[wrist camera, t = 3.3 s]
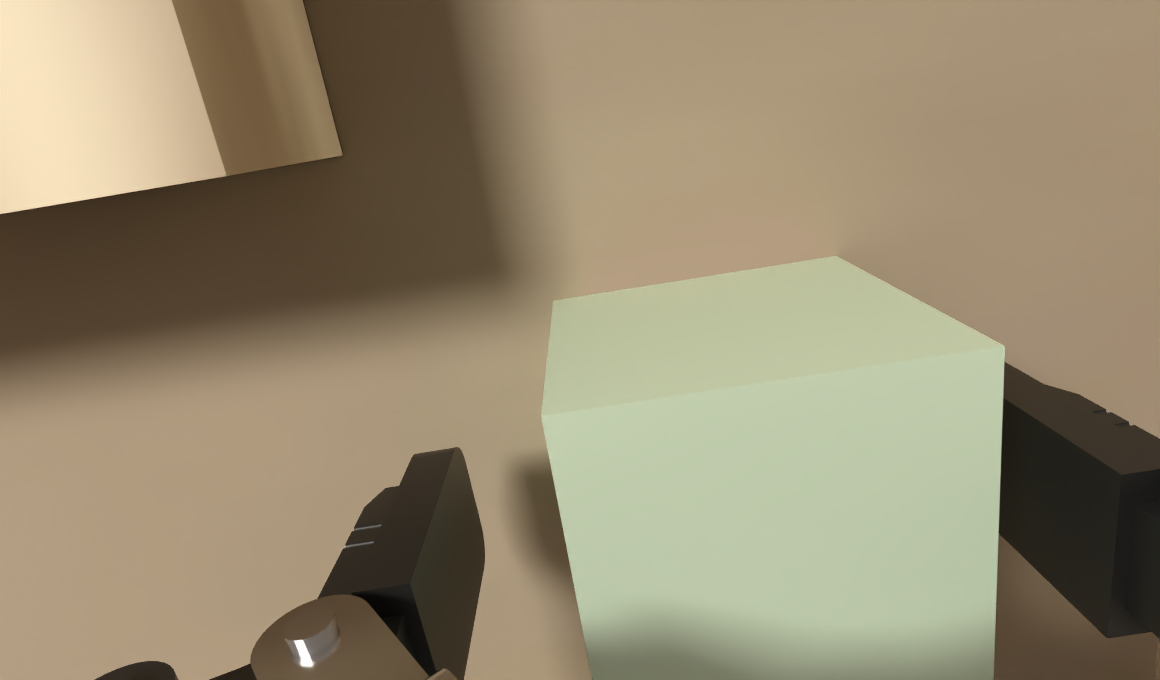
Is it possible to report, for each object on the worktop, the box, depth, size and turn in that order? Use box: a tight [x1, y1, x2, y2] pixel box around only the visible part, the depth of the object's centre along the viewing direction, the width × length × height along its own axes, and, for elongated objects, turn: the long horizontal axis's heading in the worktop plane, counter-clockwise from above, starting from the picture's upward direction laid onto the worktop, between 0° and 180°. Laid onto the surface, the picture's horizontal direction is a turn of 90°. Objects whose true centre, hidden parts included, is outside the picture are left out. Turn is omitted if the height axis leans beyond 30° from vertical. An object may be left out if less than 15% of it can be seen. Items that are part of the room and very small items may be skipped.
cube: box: [541, 256, 1005, 680], centre depth 11 cm, size 5×5×5 cm
